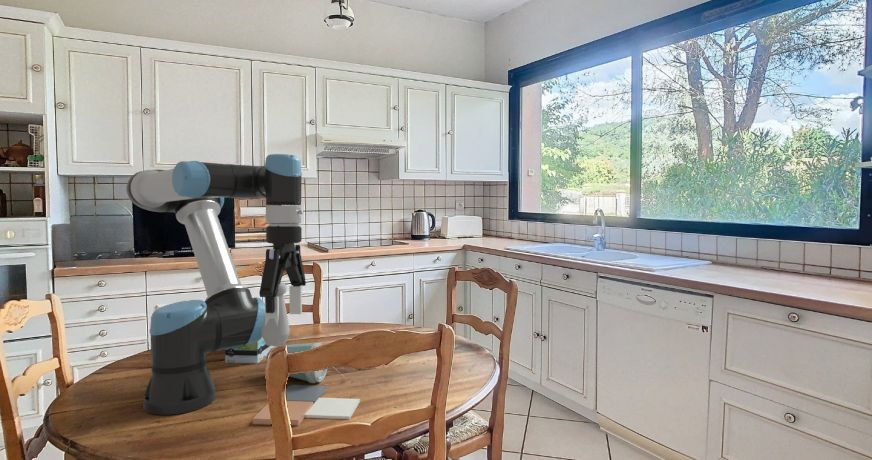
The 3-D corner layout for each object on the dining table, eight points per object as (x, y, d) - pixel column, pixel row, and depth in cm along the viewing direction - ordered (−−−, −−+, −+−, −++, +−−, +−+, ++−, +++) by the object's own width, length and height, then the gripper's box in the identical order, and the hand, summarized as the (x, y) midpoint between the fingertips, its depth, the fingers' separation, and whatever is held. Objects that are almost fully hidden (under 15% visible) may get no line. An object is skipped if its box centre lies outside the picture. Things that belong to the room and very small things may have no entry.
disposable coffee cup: (272, 331, 134) (322, 335, 131) (287, 351, 142) (335, 355, 138) (255, 367, 127) (308, 372, 124) (272, 386, 135) (323, 391, 131)
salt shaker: (279, 348, 102) (279, 285, 102) (255, 345, 104) (255, 283, 103) (294, 341, 108) (295, 281, 108) (271, 339, 109) (272, 280, 109)
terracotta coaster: (252, 424, 106) (252, 418, 106) (271, 405, 116) (271, 400, 116) (298, 425, 105) (298, 419, 105) (313, 406, 115) (313, 401, 115)
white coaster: (304, 420, 109) (304, 414, 109) (319, 402, 119) (319, 397, 119) (349, 421, 109) (349, 416, 109) (360, 403, 119) (360, 398, 119)
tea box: (258, 367, 144) (258, 317, 143) (224, 367, 144) (223, 317, 143) (276, 352, 159) (275, 307, 158) (244, 352, 159) (244, 306, 158)
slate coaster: (274, 404, 118) (274, 399, 118) (290, 389, 128) (290, 384, 128) (315, 406, 117) (315, 401, 117) (328, 390, 127) (328, 386, 127)
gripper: (277, 227, 97) (278, 335, 98) (318, 223, 122) (318, 309, 123) (240, 227, 98) (242, 334, 99) (288, 223, 122) (289, 308, 123)
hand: (284, 320), depth 111 cm, fingers open, 13 cm apart
